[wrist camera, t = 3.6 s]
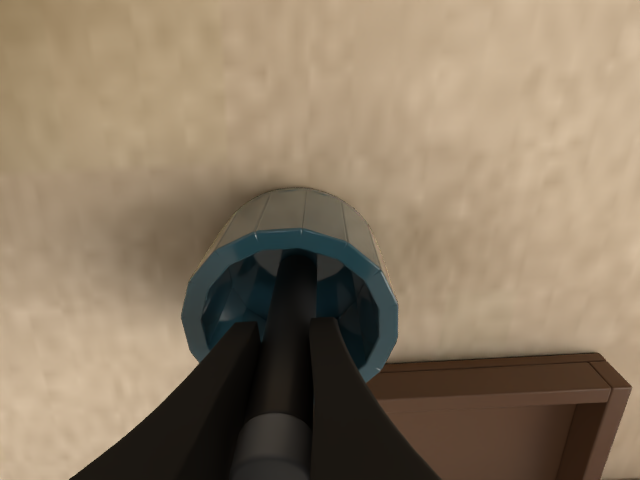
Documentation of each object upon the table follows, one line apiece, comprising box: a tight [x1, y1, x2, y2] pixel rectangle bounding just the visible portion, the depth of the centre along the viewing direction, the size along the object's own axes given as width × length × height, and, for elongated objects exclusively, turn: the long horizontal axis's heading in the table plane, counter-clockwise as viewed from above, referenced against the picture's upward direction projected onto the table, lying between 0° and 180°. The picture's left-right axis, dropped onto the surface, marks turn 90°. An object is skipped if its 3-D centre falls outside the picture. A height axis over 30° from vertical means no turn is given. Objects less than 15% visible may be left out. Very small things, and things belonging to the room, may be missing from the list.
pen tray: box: [313, 353, 632, 480], centre depth 18 cm, size 16×12×2 cm
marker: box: [229, 255, 317, 480], centre depth 11 cm, size 2×2×8 cm
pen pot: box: [181, 188, 398, 383], centre depth 13 cm, size 6×6×4 cm
